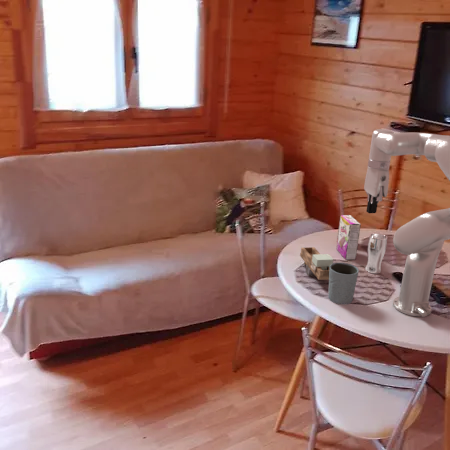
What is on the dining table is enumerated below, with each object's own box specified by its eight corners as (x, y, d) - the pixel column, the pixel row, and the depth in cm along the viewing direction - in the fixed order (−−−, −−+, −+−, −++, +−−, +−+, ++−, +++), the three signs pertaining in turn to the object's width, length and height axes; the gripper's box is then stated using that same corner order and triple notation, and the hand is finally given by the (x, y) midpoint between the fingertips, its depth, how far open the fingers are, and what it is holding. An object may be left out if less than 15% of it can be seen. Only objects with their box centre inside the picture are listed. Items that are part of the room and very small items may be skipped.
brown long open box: (334, 286, 186) (336, 270, 184) (316, 287, 185) (318, 271, 183) (314, 261, 206) (315, 247, 204) (298, 262, 205) (299, 247, 203)
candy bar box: (335, 249, 220) (340, 214, 214) (346, 249, 221) (351, 214, 215) (345, 260, 209) (350, 223, 204) (356, 260, 210) (361, 223, 204)
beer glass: (382, 275, 197) (388, 240, 192) (364, 272, 199) (370, 238, 193) (381, 267, 204) (386, 234, 199) (363, 265, 205) (369, 232, 200)
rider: (331, 271, 187) (333, 259, 186) (315, 272, 186) (317, 260, 184) (327, 265, 192) (328, 254, 190) (311, 266, 191) (312, 254, 189)
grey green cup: (339, 308, 171) (344, 276, 167) (319, 295, 179) (323, 265, 175) (360, 301, 176) (365, 270, 172) (340, 289, 184) (344, 259, 180)
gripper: (398, 169, 172) (390, 219, 179) (378, 159, 186) (371, 206, 192) (378, 169, 171) (370, 219, 177) (360, 159, 185) (353, 206, 191)
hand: (371, 212), depth 185 cm, fingers closed
